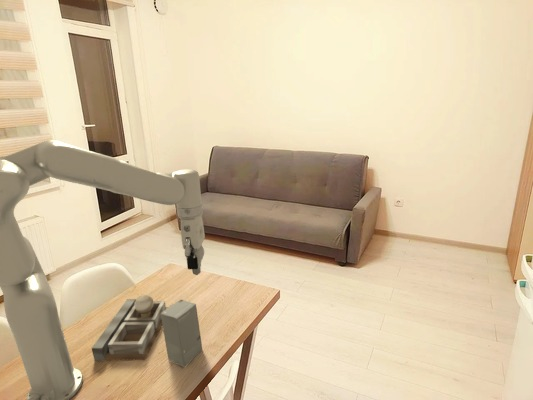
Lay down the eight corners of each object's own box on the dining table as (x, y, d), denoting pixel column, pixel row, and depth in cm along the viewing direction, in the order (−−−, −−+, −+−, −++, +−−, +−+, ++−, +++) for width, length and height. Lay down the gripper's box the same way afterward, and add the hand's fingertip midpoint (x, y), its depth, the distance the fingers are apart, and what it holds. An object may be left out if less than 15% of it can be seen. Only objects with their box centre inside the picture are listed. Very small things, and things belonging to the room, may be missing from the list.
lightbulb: (197, 281, 106) (193, 249, 102) (183, 276, 109) (179, 245, 105) (210, 272, 110) (207, 241, 107) (196, 268, 114) (193, 238, 110)
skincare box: (184, 368, 94) (177, 320, 89) (166, 360, 98) (158, 313, 93) (204, 348, 101) (198, 303, 96) (186, 341, 104) (179, 297, 100)
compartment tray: (145, 360, 98) (139, 331, 95) (94, 360, 99) (87, 332, 96) (170, 309, 121) (166, 285, 118) (129, 309, 121) (124, 285, 118)
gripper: (195, 220, 95) (201, 277, 100) (207, 201, 111) (212, 251, 116) (168, 220, 95) (176, 277, 100) (185, 202, 111) (190, 252, 117)
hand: (195, 263), depth 108 cm, fingers closed on lightbulb, 5 cm apart
